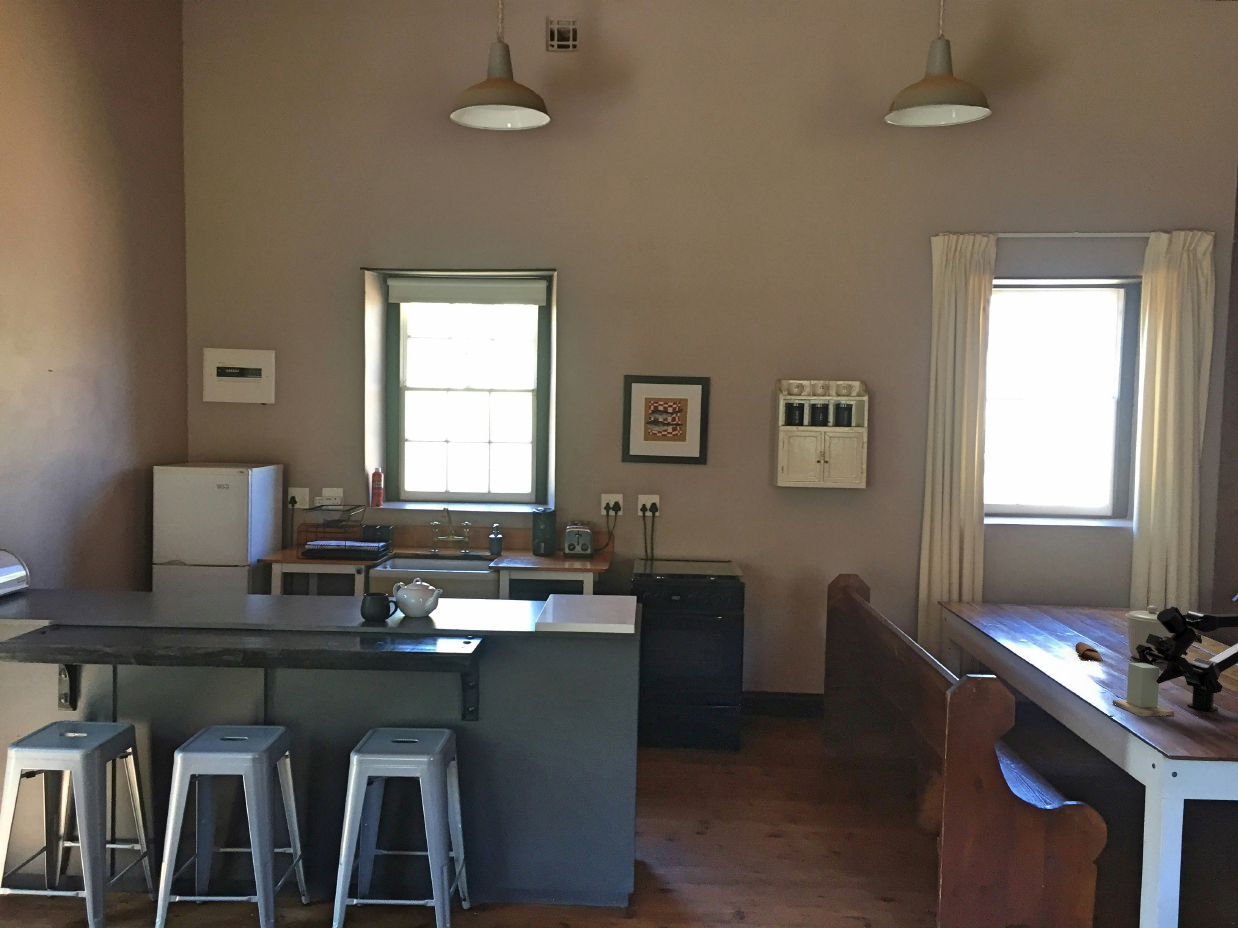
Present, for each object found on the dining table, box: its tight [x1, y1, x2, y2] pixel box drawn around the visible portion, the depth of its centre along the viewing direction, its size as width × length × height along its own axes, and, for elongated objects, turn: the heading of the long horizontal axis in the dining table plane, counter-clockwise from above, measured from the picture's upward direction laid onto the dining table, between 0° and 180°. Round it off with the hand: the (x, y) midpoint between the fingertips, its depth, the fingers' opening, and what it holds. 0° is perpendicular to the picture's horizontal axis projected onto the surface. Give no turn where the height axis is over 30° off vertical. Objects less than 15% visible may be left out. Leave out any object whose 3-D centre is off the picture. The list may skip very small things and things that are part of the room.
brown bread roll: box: [1074, 641, 1104, 663], centre depth 350 cm, size 18×7×7 cm, turn 159°
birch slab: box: [1112, 699, 1176, 717], centre depth 281 cm, size 12×12×2 cm
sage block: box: [1126, 662, 1161, 708], centre depth 281 cm, size 6×6×12 cm
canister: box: [1124, 605, 1174, 663], centre depth 347 cm, size 18×18×21 cm
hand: (1146, 678), depth 281 cm, fingers open, 9 cm apart
